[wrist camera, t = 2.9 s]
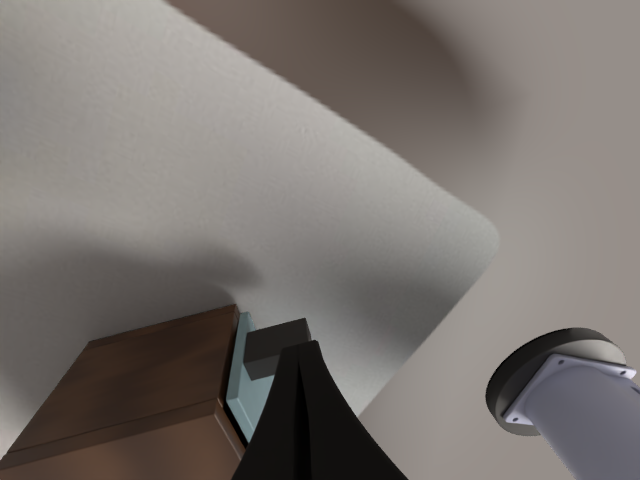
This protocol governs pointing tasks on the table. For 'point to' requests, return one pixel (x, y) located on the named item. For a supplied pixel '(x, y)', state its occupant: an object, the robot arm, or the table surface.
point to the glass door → (258, 366)
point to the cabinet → (140, 408)
